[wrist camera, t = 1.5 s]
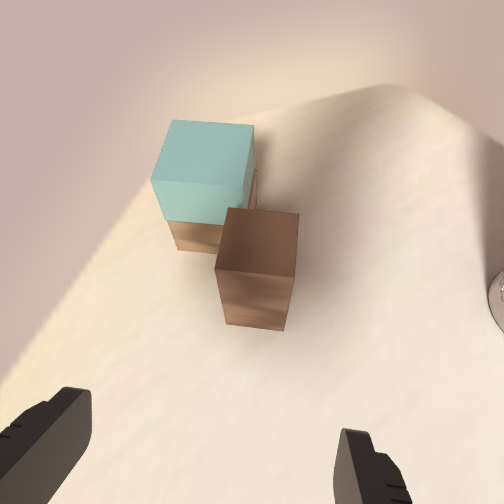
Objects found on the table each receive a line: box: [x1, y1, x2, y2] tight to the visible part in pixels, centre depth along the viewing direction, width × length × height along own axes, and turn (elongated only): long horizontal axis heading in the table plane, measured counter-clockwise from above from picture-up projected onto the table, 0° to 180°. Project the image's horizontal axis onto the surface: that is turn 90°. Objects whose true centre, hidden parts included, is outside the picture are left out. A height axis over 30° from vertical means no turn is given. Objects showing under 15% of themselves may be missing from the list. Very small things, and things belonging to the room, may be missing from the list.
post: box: [215, 207, 299, 331], centre depth 27 cm, size 5×5×10 cm
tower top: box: [150, 120, 254, 225], centre depth 29 cm, size 7×7×5 cm
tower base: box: [167, 169, 256, 254], centre depth 34 cm, size 7×7×5 cm
